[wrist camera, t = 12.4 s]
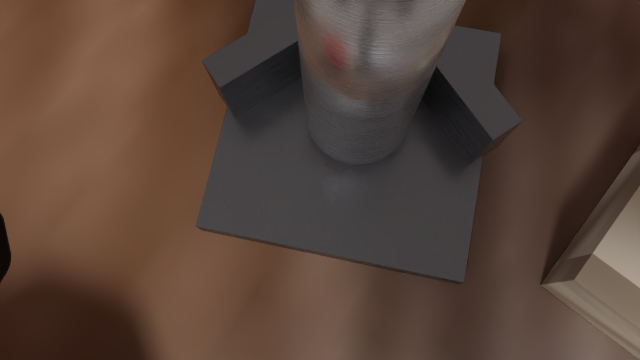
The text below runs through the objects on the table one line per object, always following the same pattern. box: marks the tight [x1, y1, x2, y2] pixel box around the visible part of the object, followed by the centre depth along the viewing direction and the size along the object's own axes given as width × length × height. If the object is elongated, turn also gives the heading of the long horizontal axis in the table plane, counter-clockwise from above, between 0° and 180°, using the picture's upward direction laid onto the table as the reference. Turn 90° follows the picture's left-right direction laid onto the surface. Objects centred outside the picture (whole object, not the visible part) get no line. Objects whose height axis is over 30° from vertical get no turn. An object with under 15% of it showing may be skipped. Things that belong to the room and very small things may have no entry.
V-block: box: [196, 0, 522, 284], centre depth 20 cm, size 10×11×4 cm
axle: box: [294, 0, 466, 164], centre depth 16 cm, size 4×4×12 cm
